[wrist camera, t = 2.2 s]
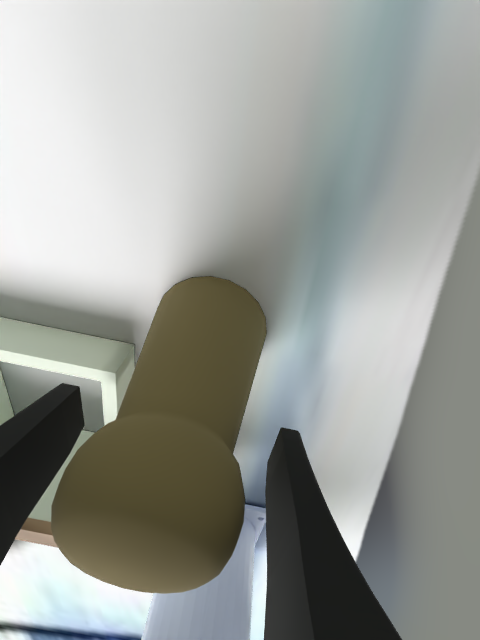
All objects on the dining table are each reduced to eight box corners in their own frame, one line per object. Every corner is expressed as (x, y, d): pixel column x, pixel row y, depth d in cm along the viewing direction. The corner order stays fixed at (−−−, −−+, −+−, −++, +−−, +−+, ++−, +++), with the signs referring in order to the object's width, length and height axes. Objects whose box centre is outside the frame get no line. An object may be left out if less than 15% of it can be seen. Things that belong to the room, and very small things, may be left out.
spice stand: (202, 465, 23) (179, 571, 18) (-62, 411, 23) (-172, 502, 17) (222, 362, 18) (199, 467, 12) (-121, 292, 18) (-306, 366, 12)
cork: (196, 251, 15) (55, 463, 5) (290, 324, 16) (312, 587, 7) (136, 331, 17) (-25, 563, 8) (222, 386, 19) (171, 635, 10)
